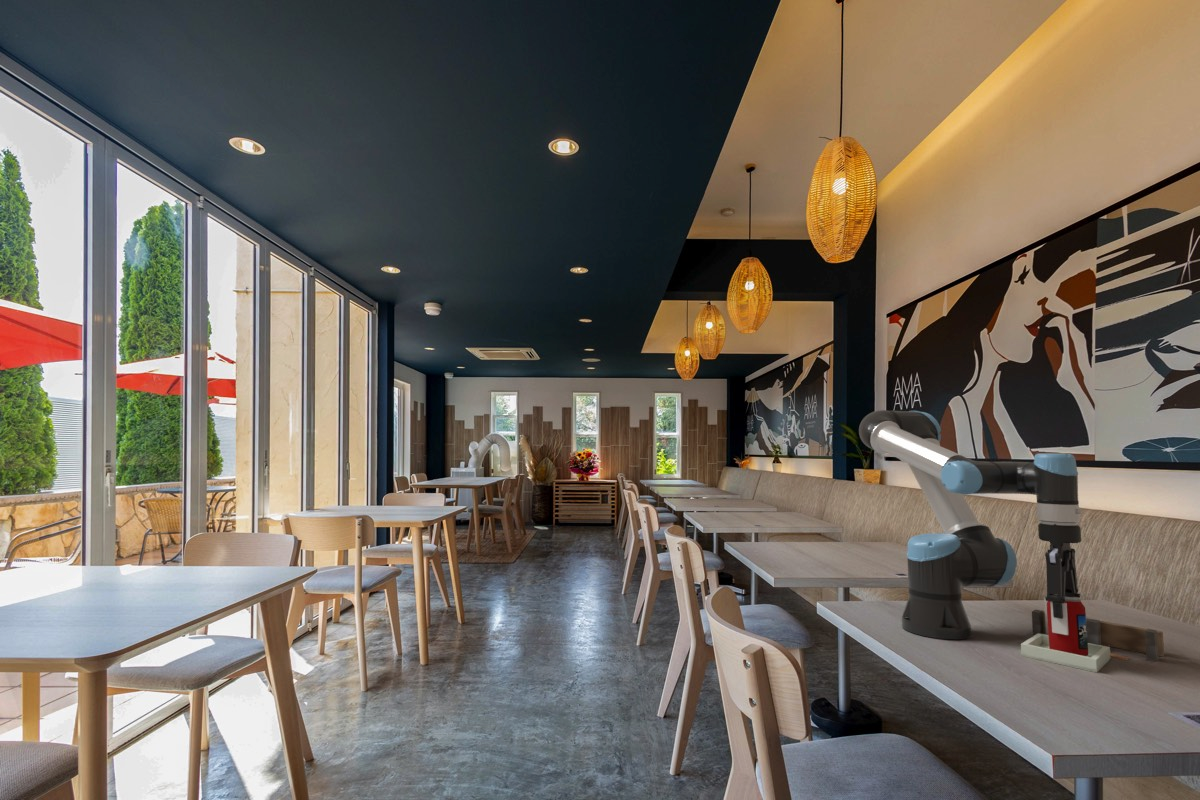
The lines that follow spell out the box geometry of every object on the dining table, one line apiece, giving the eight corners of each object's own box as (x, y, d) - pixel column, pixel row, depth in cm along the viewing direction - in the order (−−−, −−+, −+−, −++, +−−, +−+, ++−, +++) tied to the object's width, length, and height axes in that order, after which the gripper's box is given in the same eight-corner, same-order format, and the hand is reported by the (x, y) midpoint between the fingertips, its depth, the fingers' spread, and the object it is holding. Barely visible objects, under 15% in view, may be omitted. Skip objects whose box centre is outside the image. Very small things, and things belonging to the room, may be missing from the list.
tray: (1021, 655, 133) (1020, 644, 133) (1038, 644, 142) (1038, 633, 142) (1096, 672, 123) (1096, 659, 124) (1110, 659, 132) (1109, 647, 132)
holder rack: (1025, 639, 145) (1024, 613, 145) (1040, 630, 153) (1038, 606, 153) (1155, 666, 128) (1153, 636, 128) (1164, 654, 135) (1162, 626, 136)
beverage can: (1094, 661, 127) (1090, 601, 129) (1056, 657, 129) (1052, 598, 131) (1080, 653, 134) (1076, 597, 135) (1044, 650, 136) (1041, 594, 138)
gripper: (1067, 527, 126) (1074, 642, 123) (1090, 522, 139) (1097, 626, 136) (1024, 524, 131) (1030, 634, 129) (1050, 519, 144) (1056, 619, 142)
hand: (1065, 630), depth 133 cm, fingers open, 7 cm apart
